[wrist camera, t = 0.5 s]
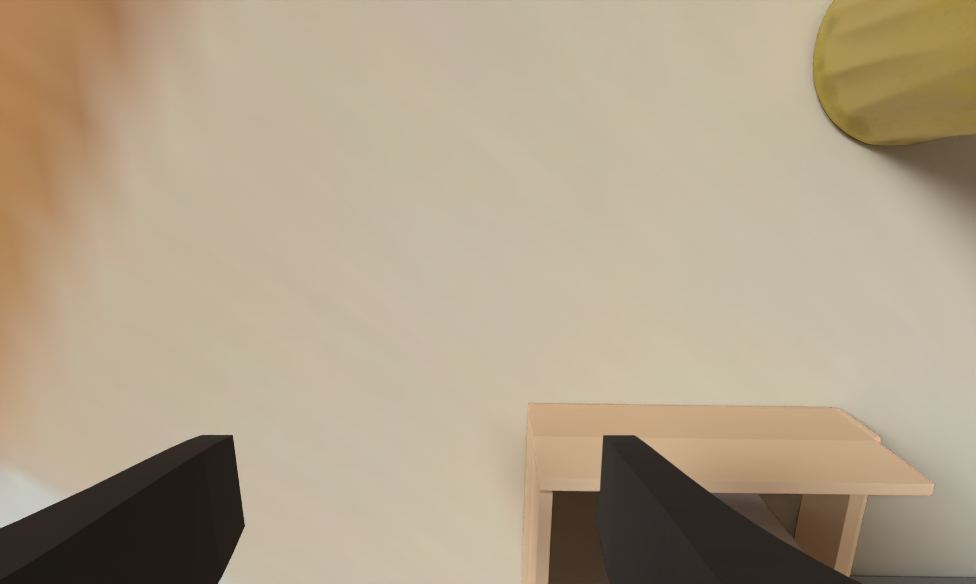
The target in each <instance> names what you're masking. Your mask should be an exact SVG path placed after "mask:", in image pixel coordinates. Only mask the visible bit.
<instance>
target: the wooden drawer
mask: <svg viewBox="0 0 976 584" xmlns="http://www.w3.org/2000/svg"><path fill="white" fill-rule="evenodd" d="M603 435H635V436H637V437H638V438H640V439H641V440H642V441H644V442H645V443H646V444H648V445H649V446H650V447H652V448H653V449H654V450H655V451H657V452H658V453H659V454H660V455H662V456H663V457H664V458H666V459H667V460H668V461H669V462H671V463H672V464H673V465H674V466H676V467H677V468H678V469H680V470H681V471H682V472H683V473H685V474H686V475H687V476H689V477H690V478H691V479H693V480H694V481H695V482H697V483H698V484H699V485H701V486H702V487H703V488H705V489H706V490H707V491H709V492H710V493H774V494H803V495H802V500H801V505H800V511H799V516H798V521H797V526H796V532H795V537H794V540H795V542H796V543H797V544H798V545H799V547H800V548H801V549H802V550H803V552H804V553H805V554H807V555H809V556H810V557H812V558H814V559H816V560H817V561H819V562H821V563H823V564H825V565H827V566H829V567H830V568H832V569H834V570H836V571H838V572H840V573H842V574H844V575H846V576H848V577H850V573H851V568H852V564H853V559H854V555H855V551H856V546H857V542H858V537H859V533H860V529H861V524H862V520H863V515H864V511H865V506H866V502H867V498H868V495H927V496H932V493H933V489H934V485H935V484H934V483H933V482H931V481H930V480H929V479H927V478H926V477H924V476H923V475H922V474H920V473H919V472H918V471H916V470H915V469H914V468H912V467H911V466H910V465H908V464H907V463H906V462H904V461H903V460H902V459H900V458H899V457H898V456H896V455H895V454H894V453H892V452H891V451H890V450H888V449H887V448H886V447H884V446H883V445H881V444H880V440H881V438H880V437H879V436H878V435H876V434H875V433H874V432H872V431H871V430H869V429H868V428H867V427H865V426H864V425H863V424H861V423H860V422H858V421H857V420H856V419H854V418H853V417H852V416H850V415H849V414H847V413H846V412H845V411H843V410H842V409H833V408H829V407H754V406H680V405H606V404H532V403H528V427H527V454H526V482H525V509H524V536H523V563H522V584H548V575H549V556H550V537H551V517H552V498H553V492H552V491H600V479H601V462H602V446H603Z"/></svg>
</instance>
